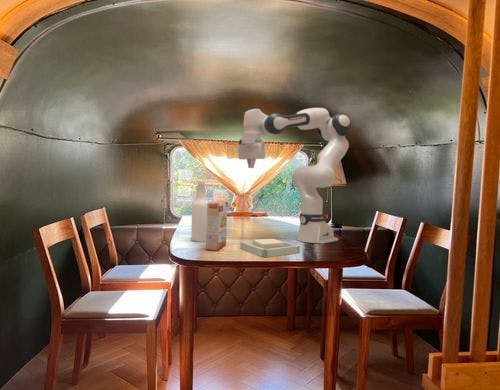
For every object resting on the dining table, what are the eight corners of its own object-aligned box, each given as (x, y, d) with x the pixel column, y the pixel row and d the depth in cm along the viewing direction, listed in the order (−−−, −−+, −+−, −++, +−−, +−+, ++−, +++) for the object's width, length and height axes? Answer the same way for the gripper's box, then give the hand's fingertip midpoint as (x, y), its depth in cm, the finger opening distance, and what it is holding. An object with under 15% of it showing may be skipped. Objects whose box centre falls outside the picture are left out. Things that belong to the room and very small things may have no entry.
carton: (272, 249, 157) (272, 238, 156) (283, 254, 148) (283, 242, 147) (252, 250, 152) (252, 239, 152) (262, 256, 143) (263, 244, 143)
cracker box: (218, 251, 149) (219, 203, 147) (205, 250, 150) (206, 202, 149) (227, 244, 162) (228, 201, 161) (215, 244, 164) (215, 200, 162)
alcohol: (192, 238, 175) (193, 180, 174) (209, 239, 176) (210, 180, 174) (190, 242, 167) (191, 180, 165) (208, 242, 167) (209, 181, 165)
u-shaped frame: (273, 244, 166) (273, 238, 165) (299, 252, 150) (299, 246, 149) (240, 248, 155) (240, 241, 155) (264, 257, 139) (264, 250, 139)
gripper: (268, 139, 167) (267, 168, 168) (246, 142, 184) (245, 168, 185) (258, 138, 164) (257, 167, 165) (236, 141, 181) (235, 167, 182)
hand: (251, 168), depth 175 cm, fingers closed
